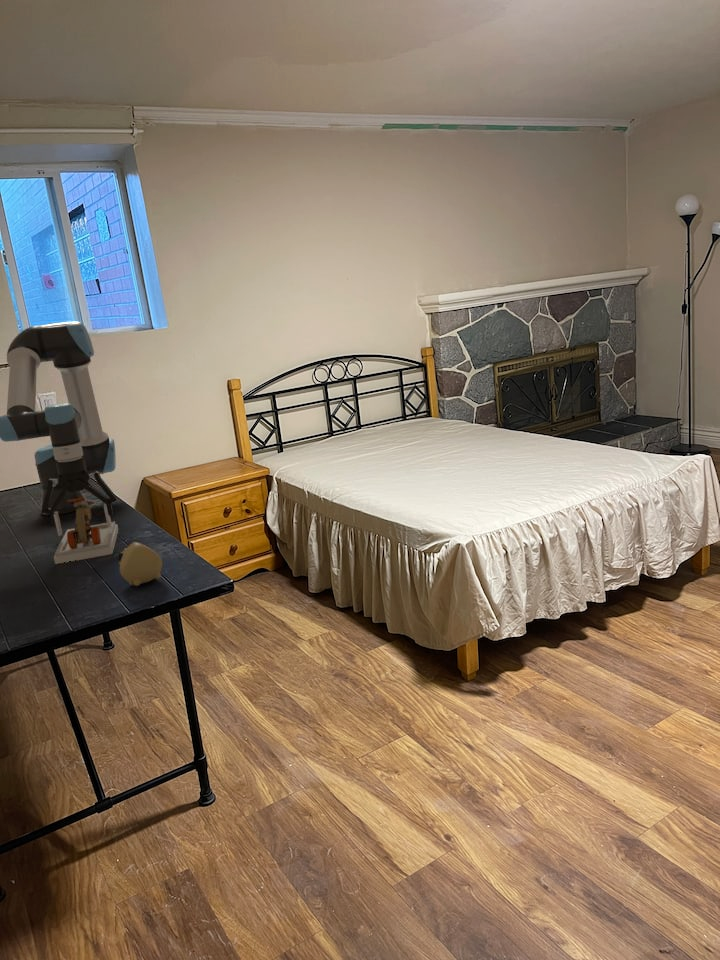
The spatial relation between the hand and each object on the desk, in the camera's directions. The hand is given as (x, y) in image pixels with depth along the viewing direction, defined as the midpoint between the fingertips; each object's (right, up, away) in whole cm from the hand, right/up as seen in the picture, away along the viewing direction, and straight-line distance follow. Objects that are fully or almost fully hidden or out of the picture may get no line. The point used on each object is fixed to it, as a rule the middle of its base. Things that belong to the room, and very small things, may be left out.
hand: (85, 530), depth 202 cm
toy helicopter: (0, -3, +1) cm, 3 cm away
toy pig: (+27, -11, -32) cm, 43 cm away
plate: (+1, -5, +1) cm, 5 cm away
